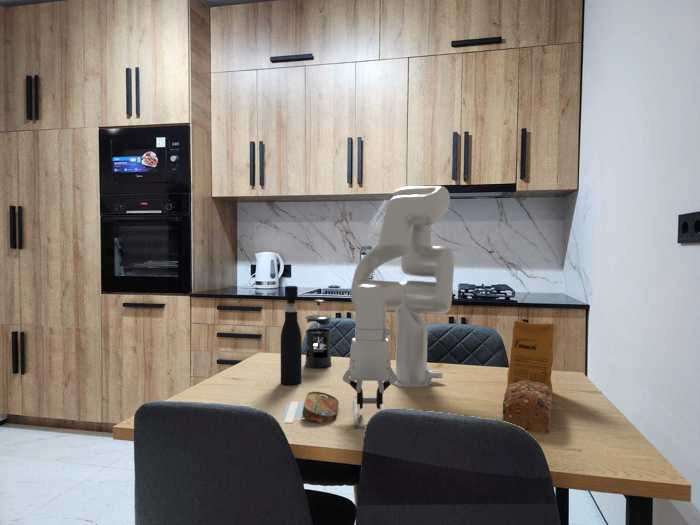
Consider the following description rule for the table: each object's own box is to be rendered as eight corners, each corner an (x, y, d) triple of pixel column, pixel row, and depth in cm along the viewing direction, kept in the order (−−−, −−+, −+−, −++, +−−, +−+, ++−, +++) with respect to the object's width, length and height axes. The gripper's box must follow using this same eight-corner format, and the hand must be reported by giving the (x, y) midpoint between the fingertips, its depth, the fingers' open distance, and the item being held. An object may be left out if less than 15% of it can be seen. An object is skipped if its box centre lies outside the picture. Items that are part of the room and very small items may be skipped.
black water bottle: (291, 388, 142) (291, 288, 140) (276, 383, 146) (276, 286, 144) (305, 382, 147) (306, 286, 145) (290, 378, 151) (291, 284, 149)
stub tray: (382, 405, 128) (382, 397, 128) (387, 435, 109) (388, 426, 108) (353, 404, 128) (353, 396, 128) (354, 435, 109) (354, 426, 108)
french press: (320, 369, 161) (321, 302, 160) (298, 365, 166) (298, 300, 165) (339, 361, 171) (339, 298, 170) (317, 358, 176) (317, 296, 175)
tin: (335, 418, 112) (301, 407, 112) (331, 431, 112) (297, 419, 112) (340, 397, 127) (310, 386, 127) (336, 408, 127) (306, 397, 127)
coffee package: (511, 389, 142) (513, 316, 141) (555, 397, 136) (558, 321, 134) (502, 399, 134) (504, 321, 133) (549, 407, 127) (552, 326, 126)
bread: (549, 445, 104) (551, 401, 104) (499, 437, 109) (500, 394, 108) (551, 416, 121) (553, 378, 121) (508, 410, 126) (509, 373, 125)
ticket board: (317, 407, 126) (317, 401, 126) (313, 428, 112) (313, 422, 112) (287, 406, 126) (287, 401, 126) (279, 428, 112) (279, 422, 112)
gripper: (402, 331, 121) (401, 401, 122) (337, 330, 121) (336, 401, 122) (405, 337, 113) (404, 412, 114) (336, 337, 113) (335, 412, 114)
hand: (369, 406), depth 118 cm, fingers open, 3 cm apart
